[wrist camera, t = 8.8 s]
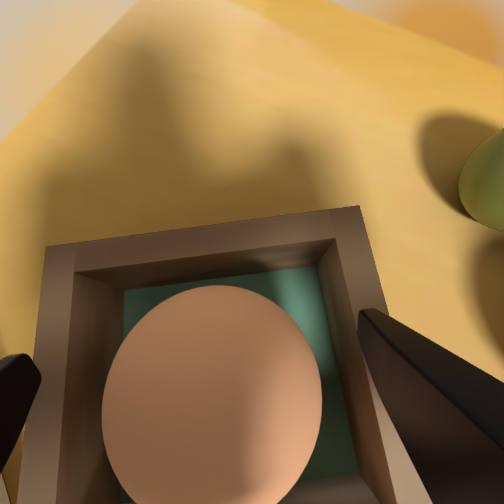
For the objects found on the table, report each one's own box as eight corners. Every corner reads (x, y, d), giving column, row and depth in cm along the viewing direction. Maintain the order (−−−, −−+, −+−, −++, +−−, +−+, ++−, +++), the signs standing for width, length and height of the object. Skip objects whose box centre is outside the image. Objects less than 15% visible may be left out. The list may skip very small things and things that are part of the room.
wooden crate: (385, 492, 12) (464, 590, 7) (103, 528, 12) (-1, 647, 7) (330, 246, 16) (359, 205, 11) (112, 275, 16) (46, 246, 11)
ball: (250, 498, 12) (235, 731, 5) (123, 396, 13) (-30, 470, 6) (332, 349, 13) (407, 369, 6) (210, 270, 14) (165, 217, 8)
